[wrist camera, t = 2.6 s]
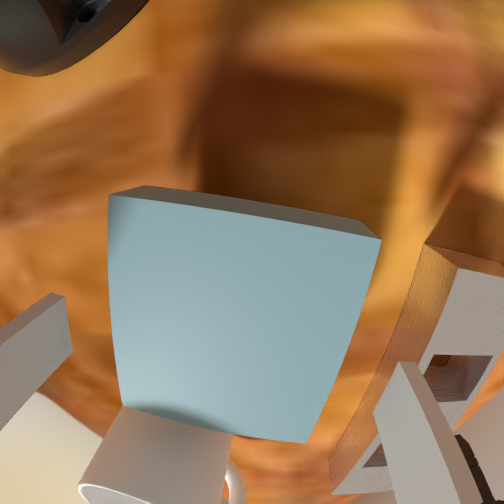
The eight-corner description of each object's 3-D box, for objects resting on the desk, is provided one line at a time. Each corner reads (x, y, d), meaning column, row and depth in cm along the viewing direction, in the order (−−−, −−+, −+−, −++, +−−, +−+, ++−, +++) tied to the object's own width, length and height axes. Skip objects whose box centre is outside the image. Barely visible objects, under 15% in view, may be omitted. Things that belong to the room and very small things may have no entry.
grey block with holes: (423, 243, 15) (458, 267, 11) (495, 261, 15) (531, 284, 11) (327, 458, 21) (331, 494, 18) (390, 457, 21) (398, 489, 17)
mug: (287, 443, 21) (283, 552, 11) (215, 467, 23) (194, 556, 13) (179, 352, 19) (118, 479, 9) (116, 391, 21) (59, 484, 11)
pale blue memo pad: (172, 179, 15) (109, 194, 9) (342, 206, 15) (382, 239, 9) (163, 337, 19) (122, 405, 12) (301, 363, 18) (306, 443, 12)
